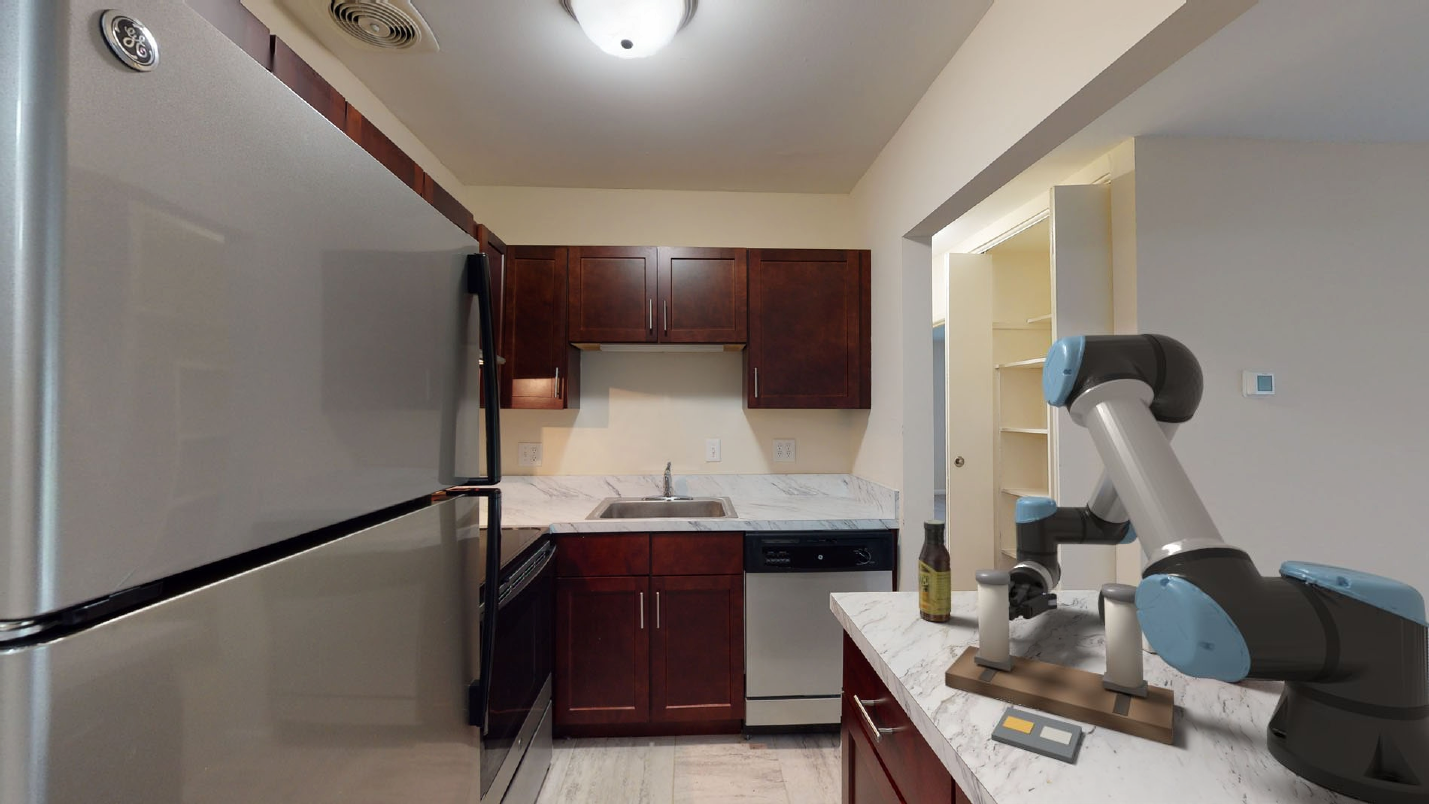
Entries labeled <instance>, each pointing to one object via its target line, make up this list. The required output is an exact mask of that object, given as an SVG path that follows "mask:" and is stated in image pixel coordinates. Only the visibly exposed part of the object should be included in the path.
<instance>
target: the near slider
mask: <svg viewBox="0 0 1429 804" xmlns="http://www.w3.org/2000/svg"><path fill="white" fill-rule="evenodd" d="M1137 587H1138V586H1135V585H1131V584H1124V583H1115V582H1113V583H1112V582H1109V583H1103V584H1101V589H1102V595H1103V596H1104V601H1105V628H1104V630H1105V631H1104V632H1105V663H1106V664H1105V665H1106V666H1105V667H1106V668H1105V670H1106V671H1104V673H1103V674H1102V675H1103V679H1102V687H1103V688H1108V689H1112V690H1116V691H1121V692H1125V693H1129V694H1134V695H1138V696H1143V697H1147V691H1148V685H1149V681H1148V680H1146V679H1144V652H1143V650H1144V649H1143V645H1142V629H1141V627H1140V624H1139V621H1138V618H1137V613H1136V612H1137V611H1138V610H1139V609H1138V607H1137V606H1136V604H1135V594H1136V590H1137Z"/></svg>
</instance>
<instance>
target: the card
mask: <svg viewBox="0 0 1429 804" xmlns="http://www.w3.org/2000/svg"><path fill="white" fill-rule="evenodd" d="M1082 728H1083V727H1082V726H1081V725H1077V724H1074V723H1070V722H1067V721H1062V720H1058V719H1055V718H1050V717H1049V716H1048V717H1047V716H1043V715H1041V714H1036V713H1032V712H1030V711H1025V710H1021V709H1018V708H1014V707H1010V706H1007V708H1006V709H1005V711H1004V712H1003V714H1002V716H1001V718H1000V719H999V720H998V722H997V724H996V726H995V727H994V729H993V731H992V732H991V736H990V737H991V740H993V741H997V742H1000V743H1003V744H1007V745H1010V746H1013V747H1016V748H1019V749H1020V748H1021V749H1022V750H1026V751H1030V752H1033V753H1037V754H1039V755H1042V756H1046V757H1049V758H1052V759H1056V760H1059V761H1063V762H1066V763H1069V764H1072V763H1073V759H1074V756H1075V753H1076V750H1077V747H1078V744H1079V741H1080V738H1081V736H1082V731H1083V729H1082Z"/></svg>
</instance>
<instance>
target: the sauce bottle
mask: <svg viewBox="0 0 1429 804" xmlns="http://www.w3.org/2000/svg"><path fill="white" fill-rule="evenodd" d="M945 526H946V523H945V521H943V520H940V519H927V520H924V521H923V529H924V540H923V541H924V542H923V544H922V547H921V549H920V554H919V556H918V572H917V573H918V608H919V615H920V617H921V618H922V619H924V620H927V621H929V622H937V623H938V622H942V623H943V622H947V621H949V620H950V619H951V613H952V569H951V554H950V553H949V551H948V548H947V547H946V546H945V533H944V532H945V529H946V527H945Z"/></svg>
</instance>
